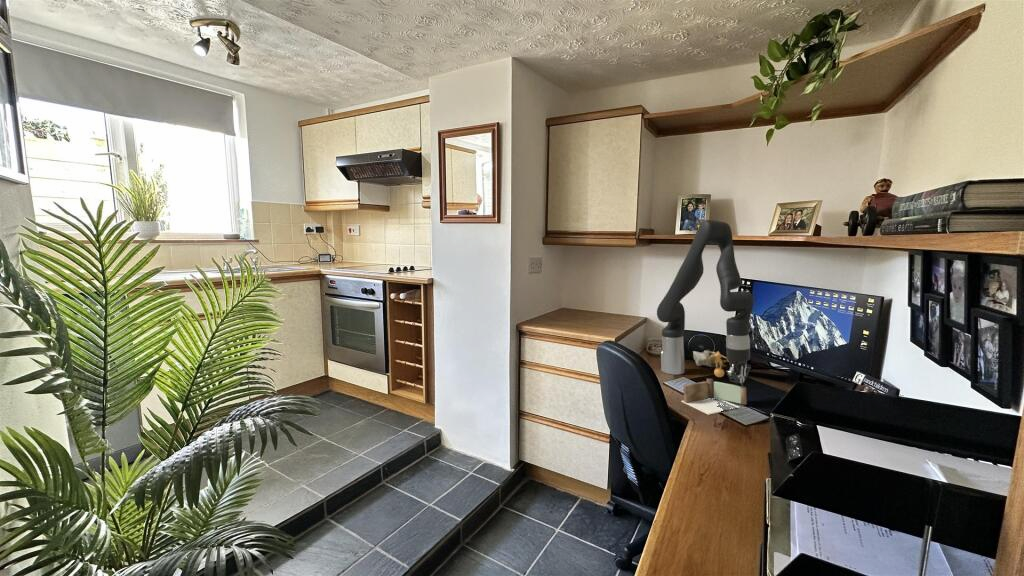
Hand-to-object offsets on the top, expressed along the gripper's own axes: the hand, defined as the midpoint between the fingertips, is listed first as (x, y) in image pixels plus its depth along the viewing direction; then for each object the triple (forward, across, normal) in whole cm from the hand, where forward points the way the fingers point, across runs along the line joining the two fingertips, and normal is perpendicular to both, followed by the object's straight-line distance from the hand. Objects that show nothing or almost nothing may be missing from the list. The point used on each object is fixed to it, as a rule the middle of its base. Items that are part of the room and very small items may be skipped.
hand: (739, 392), depth 143 cm
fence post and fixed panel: (+4, -9, +10) cm, 14 cm away
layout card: (+3, -10, +5) cm, 12 cm away
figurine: (+4, +20, +19) cm, 28 cm away
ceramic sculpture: (+5, +34, +31) cm, 46 cm away
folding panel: (+3, -3, +1) cm, 5 cm away
